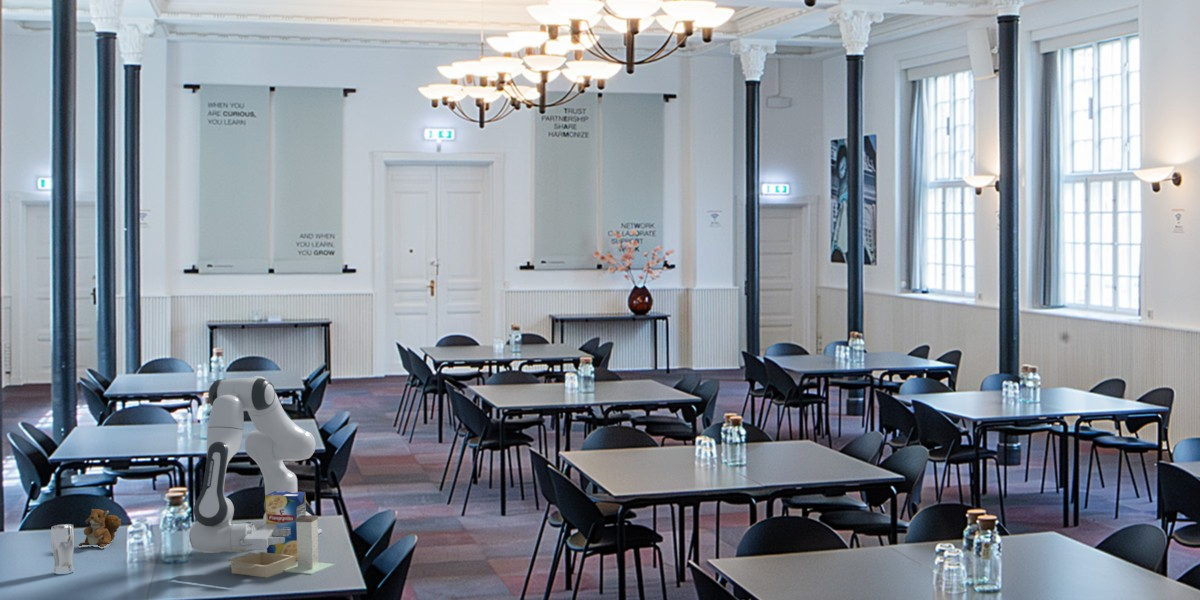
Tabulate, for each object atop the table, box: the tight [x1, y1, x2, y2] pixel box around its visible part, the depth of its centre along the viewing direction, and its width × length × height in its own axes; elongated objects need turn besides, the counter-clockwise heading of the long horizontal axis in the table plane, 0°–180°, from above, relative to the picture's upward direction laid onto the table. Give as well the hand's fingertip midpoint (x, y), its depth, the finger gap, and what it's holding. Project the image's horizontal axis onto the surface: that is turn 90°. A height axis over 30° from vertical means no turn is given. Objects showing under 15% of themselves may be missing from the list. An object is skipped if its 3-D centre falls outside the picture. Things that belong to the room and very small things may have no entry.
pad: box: [283, 562, 336, 576], centre depth 401 cm, size 12×12×1 cm
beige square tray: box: [227, 551, 297, 578], centre depth 399 cm, size 17×17×4 cm
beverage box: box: [264, 491, 307, 562], centre depth 414 cm, size 7×11×22 cm, turn 78°
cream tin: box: [296, 514, 319, 569], centre depth 401 cm, size 5×5×16 cm
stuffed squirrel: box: [78, 508, 122, 547], centre depth 438 cm, size 10×14×13 cm
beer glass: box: [50, 523, 76, 572], centre depth 402 cm, size 7×7×15 cm
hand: (287, 536), depth 400 cm, fingers open, 8 cm apart
